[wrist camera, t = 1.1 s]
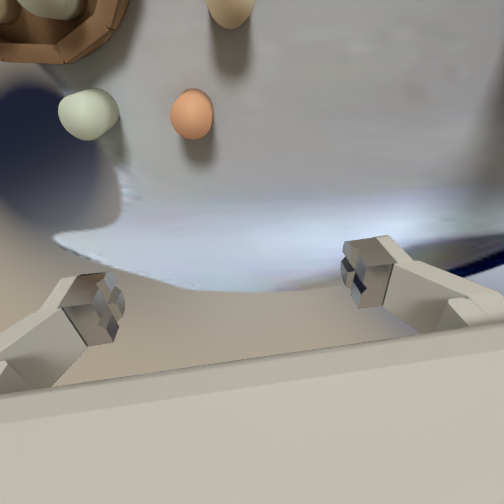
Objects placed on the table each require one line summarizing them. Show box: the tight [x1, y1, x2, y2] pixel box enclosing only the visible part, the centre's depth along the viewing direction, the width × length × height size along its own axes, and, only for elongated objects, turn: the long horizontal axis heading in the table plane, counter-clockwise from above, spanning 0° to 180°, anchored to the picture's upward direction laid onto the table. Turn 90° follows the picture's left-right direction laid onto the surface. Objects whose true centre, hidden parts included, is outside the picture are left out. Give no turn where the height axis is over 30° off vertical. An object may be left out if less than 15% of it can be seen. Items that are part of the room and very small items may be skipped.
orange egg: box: [170, 89, 213, 140], centre depth 30 cm, size 4×4×5 cm
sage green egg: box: [58, 88, 119, 140], centre depth 29 cm, size 4×4×5 cm
